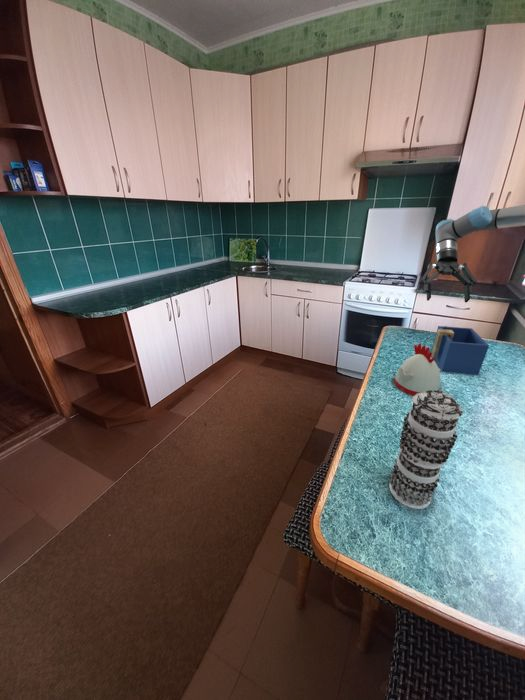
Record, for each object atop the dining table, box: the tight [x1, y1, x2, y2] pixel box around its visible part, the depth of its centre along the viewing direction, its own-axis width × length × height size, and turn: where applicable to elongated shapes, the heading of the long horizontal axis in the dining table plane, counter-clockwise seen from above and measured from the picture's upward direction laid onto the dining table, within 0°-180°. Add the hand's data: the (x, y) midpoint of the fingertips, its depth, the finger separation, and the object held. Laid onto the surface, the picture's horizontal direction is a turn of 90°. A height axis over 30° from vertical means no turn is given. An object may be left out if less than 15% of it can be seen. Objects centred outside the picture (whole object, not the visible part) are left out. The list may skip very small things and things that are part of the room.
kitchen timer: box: [393, 343, 442, 396], centre depth 97 cm, size 14×14×15 cm
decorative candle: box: [388, 390, 463, 510], centre depth 58 cm, size 9×9×25 cm
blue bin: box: [430, 325, 490, 376], centre depth 111 cm, size 16×12×12 cm
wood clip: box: [431, 328, 454, 358], centre depth 112 cm, size 5×3×11 cm, turn 75°
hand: (447, 299), depth 114 cm, fingers open, 13 cm apart
